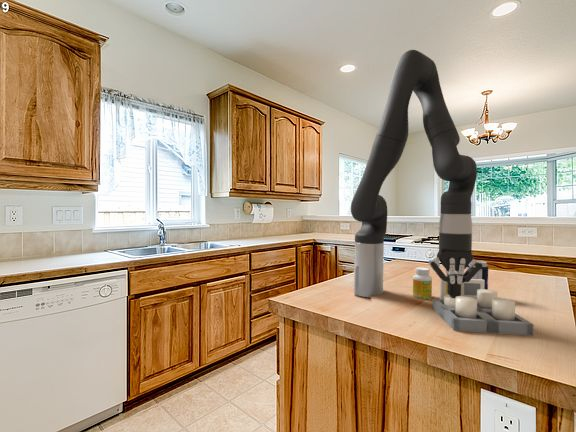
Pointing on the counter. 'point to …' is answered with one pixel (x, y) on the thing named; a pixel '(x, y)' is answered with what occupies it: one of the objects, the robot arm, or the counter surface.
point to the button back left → (449, 301)
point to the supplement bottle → (422, 284)
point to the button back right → (485, 298)
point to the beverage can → (482, 273)
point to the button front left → (466, 307)
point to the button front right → (503, 309)
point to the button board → (478, 314)
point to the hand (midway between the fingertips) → (454, 297)
